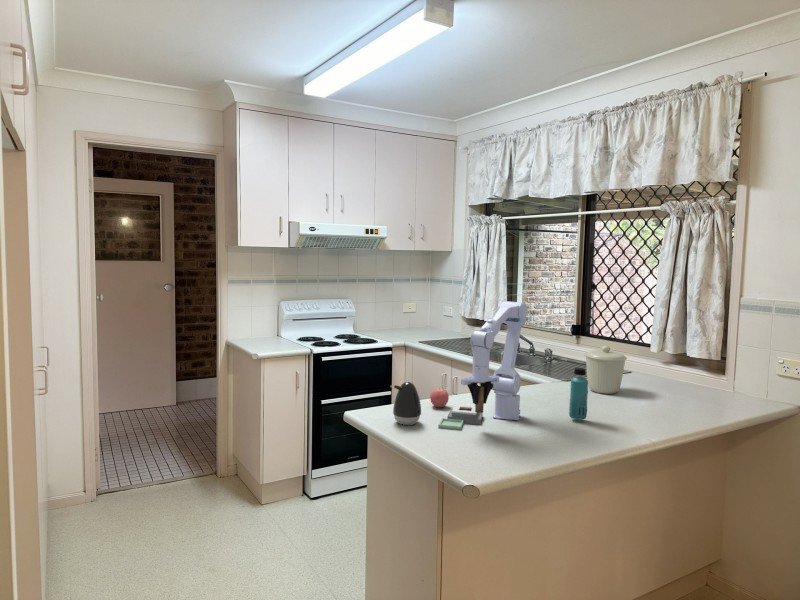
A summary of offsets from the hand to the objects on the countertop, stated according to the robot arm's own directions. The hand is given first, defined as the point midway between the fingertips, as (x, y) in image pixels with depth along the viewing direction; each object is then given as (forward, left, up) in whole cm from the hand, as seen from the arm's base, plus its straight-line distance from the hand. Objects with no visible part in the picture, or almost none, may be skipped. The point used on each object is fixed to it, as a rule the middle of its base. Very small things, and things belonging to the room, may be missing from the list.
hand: (479, 403), depth 196 cm
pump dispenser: (+26, 0, -10) cm, 28 cm away
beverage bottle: (-35, -22, -10) cm, 42 cm away
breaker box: (+6, -11, -10) cm, 16 cm away
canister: (-50, -72, -10) cm, 88 cm away
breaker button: (+6, -11, -8) cm, 15 cm away
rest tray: (+10, -2, -10) cm, 14 cm away
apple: (+18, -24, -10) cm, 32 cm away
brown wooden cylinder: (0, 0, -3) cm, 3 cm away
